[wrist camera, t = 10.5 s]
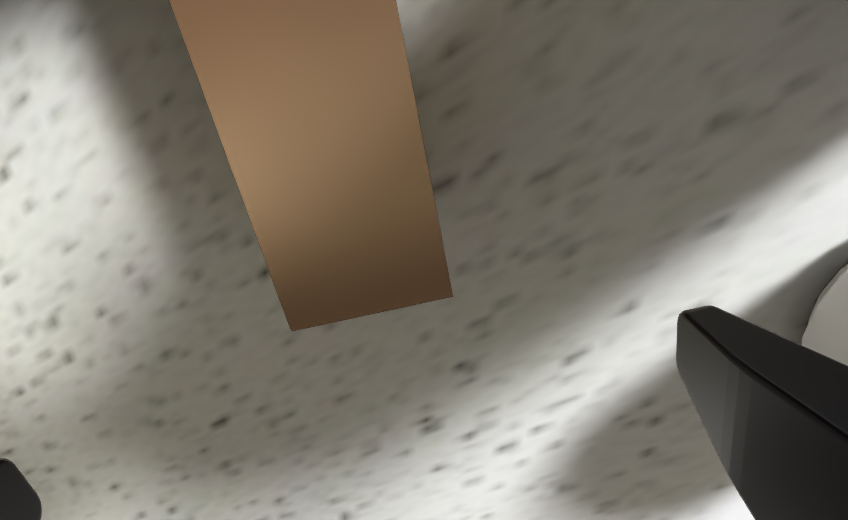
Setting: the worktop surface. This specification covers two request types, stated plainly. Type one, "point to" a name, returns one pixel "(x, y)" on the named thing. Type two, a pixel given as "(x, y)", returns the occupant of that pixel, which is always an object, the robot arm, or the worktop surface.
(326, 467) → the worktop surface
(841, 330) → the can
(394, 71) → the brown rectangular bar
